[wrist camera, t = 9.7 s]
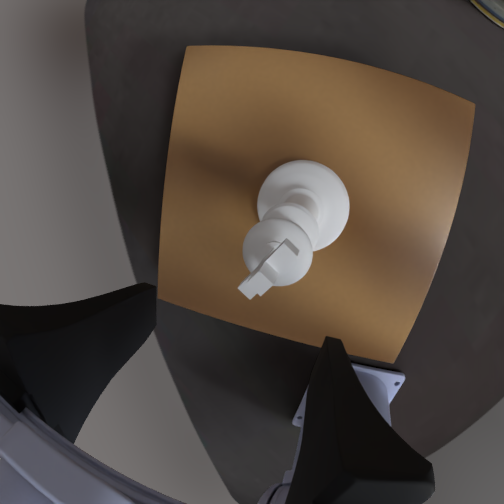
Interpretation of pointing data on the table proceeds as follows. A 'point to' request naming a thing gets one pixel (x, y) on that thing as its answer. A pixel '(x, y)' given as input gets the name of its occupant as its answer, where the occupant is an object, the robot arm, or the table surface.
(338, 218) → the chess piece
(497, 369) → the table surface
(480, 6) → the apothecary jar
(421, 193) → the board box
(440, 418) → the table surface
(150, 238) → the table surface
